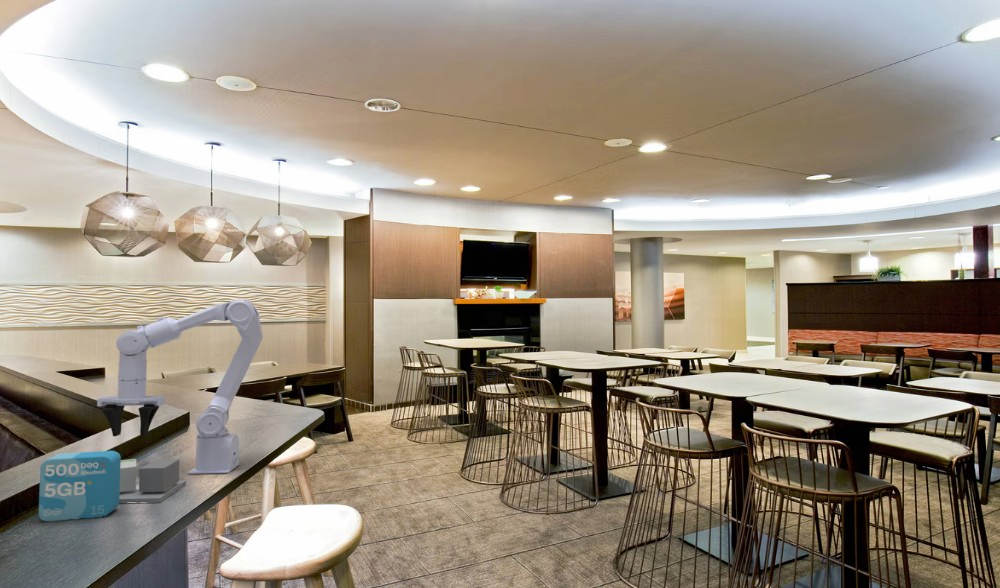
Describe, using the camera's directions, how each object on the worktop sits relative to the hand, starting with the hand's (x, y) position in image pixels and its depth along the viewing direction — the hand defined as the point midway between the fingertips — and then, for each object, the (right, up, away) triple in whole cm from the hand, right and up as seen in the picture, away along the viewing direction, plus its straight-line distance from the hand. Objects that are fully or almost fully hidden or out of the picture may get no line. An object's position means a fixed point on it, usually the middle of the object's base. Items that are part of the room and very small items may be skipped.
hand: (130, 435), depth 133 cm
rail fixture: (+8, -10, -13) cm, 18 cm away
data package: (+7, -10, -25) cm, 28 cm away
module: (+8, -8, -13) cm, 17 cm away
